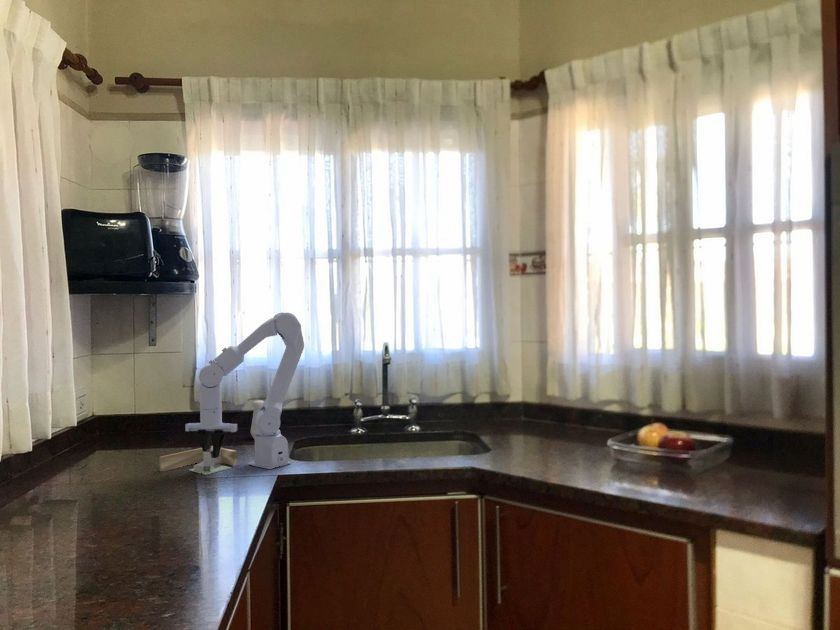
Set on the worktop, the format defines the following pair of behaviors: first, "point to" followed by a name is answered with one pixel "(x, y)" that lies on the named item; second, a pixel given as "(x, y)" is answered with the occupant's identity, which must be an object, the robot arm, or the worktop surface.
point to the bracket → (208, 462)
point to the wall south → (228, 456)
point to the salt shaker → (257, 407)
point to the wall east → (180, 459)
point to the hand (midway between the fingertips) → (211, 457)
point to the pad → (213, 470)
